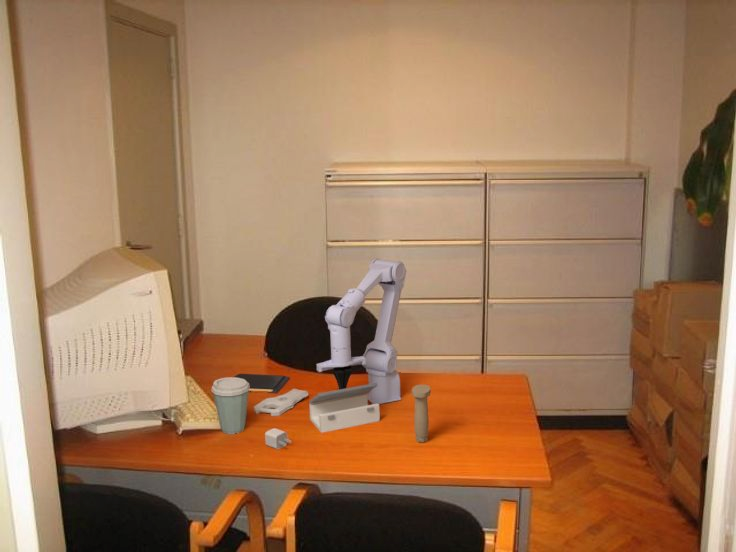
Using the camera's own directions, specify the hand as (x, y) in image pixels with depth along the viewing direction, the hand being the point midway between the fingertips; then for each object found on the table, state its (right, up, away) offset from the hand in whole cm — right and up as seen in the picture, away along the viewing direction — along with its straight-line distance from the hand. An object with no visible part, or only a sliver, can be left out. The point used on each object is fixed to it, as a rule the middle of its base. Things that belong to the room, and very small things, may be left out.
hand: (342, 390), depth 209 cm
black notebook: (-30, -4, +32) cm, 44 cm away
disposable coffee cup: (-31, -11, -3) cm, 33 cm away
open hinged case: (+1, -9, +1) cm, 9 cm away
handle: (+22, -12, -13) cm, 28 cm away
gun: (-19, -7, +13) cm, 25 cm away
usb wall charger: (-16, -13, -14) cm, 25 cm away
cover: (0, -1, -1) cm, 1 cm away
